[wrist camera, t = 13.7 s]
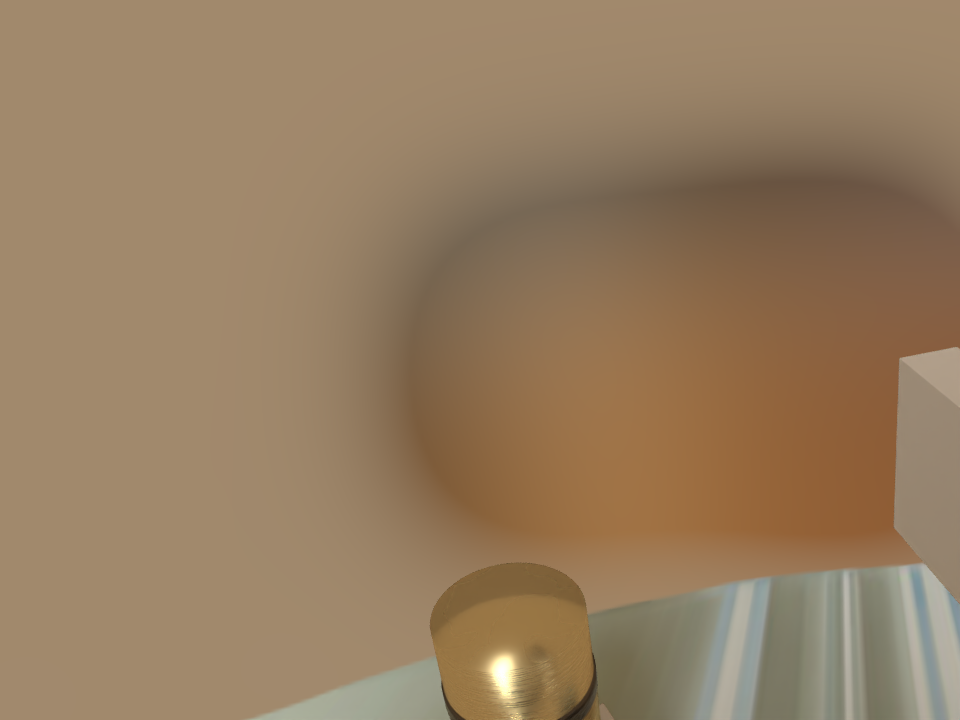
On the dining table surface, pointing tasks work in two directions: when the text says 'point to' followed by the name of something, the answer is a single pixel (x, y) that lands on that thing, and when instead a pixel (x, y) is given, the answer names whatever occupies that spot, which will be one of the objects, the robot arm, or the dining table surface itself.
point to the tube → (515, 646)
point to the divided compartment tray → (605, 713)
